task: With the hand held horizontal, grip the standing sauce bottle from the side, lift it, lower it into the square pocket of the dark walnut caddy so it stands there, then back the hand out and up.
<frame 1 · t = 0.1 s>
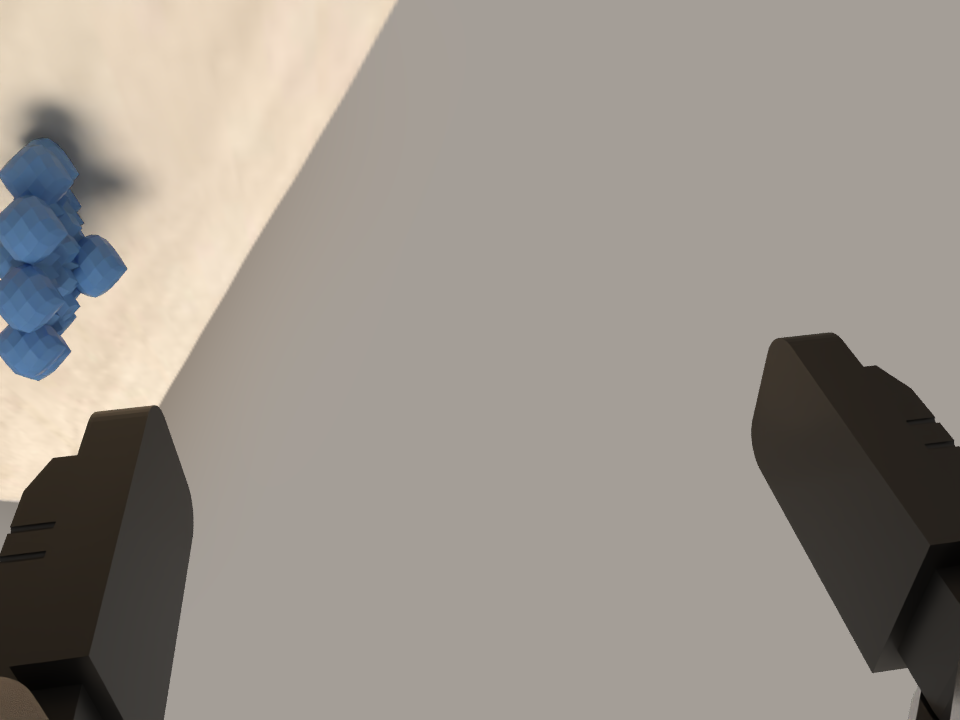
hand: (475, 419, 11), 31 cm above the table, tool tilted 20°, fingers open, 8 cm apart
grapes: (69, 177, 49), on the table
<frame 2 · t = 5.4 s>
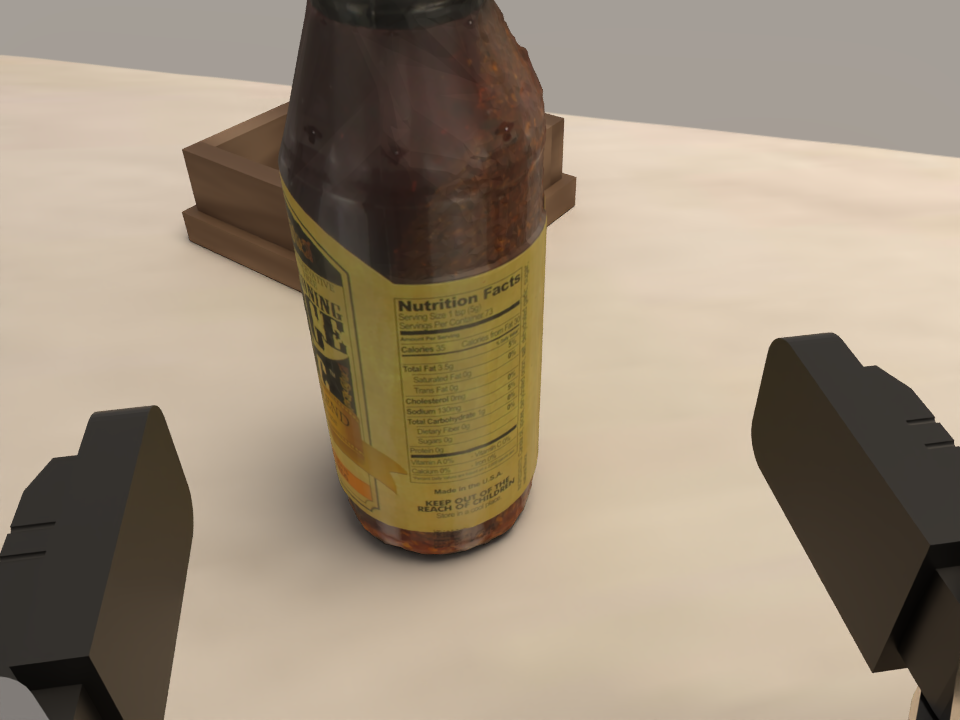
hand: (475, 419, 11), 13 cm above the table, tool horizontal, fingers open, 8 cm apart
walnut caddy: (386, 222, 41), on the table
sauce bottle: (440, 498, 28), on the table
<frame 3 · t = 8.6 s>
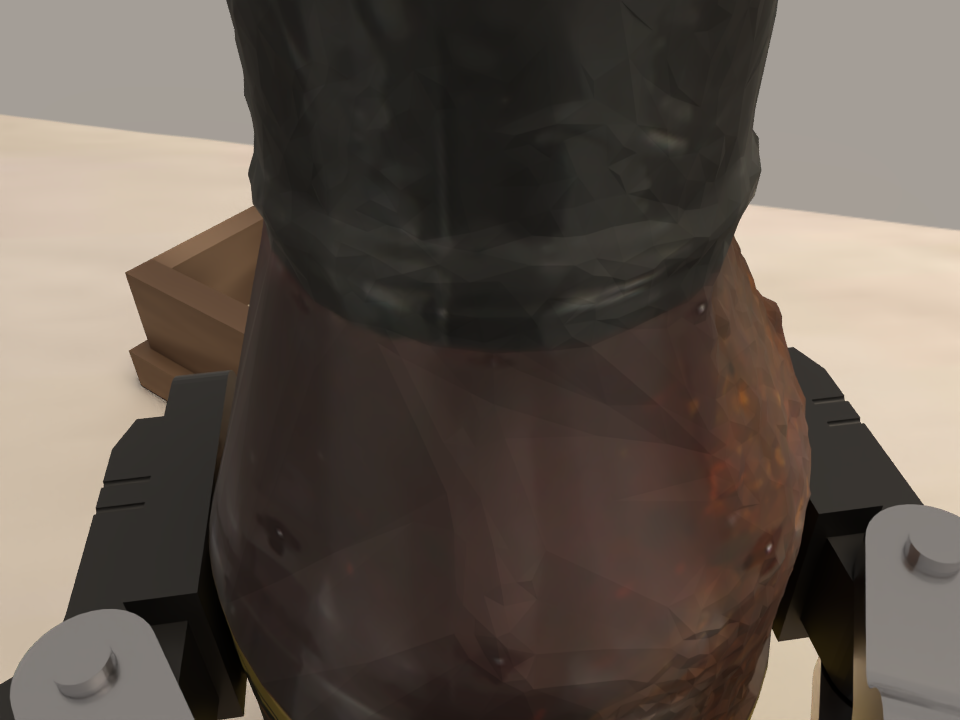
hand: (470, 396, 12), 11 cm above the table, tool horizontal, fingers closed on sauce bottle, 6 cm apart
walnut caddy: (406, 356, 31), on the table
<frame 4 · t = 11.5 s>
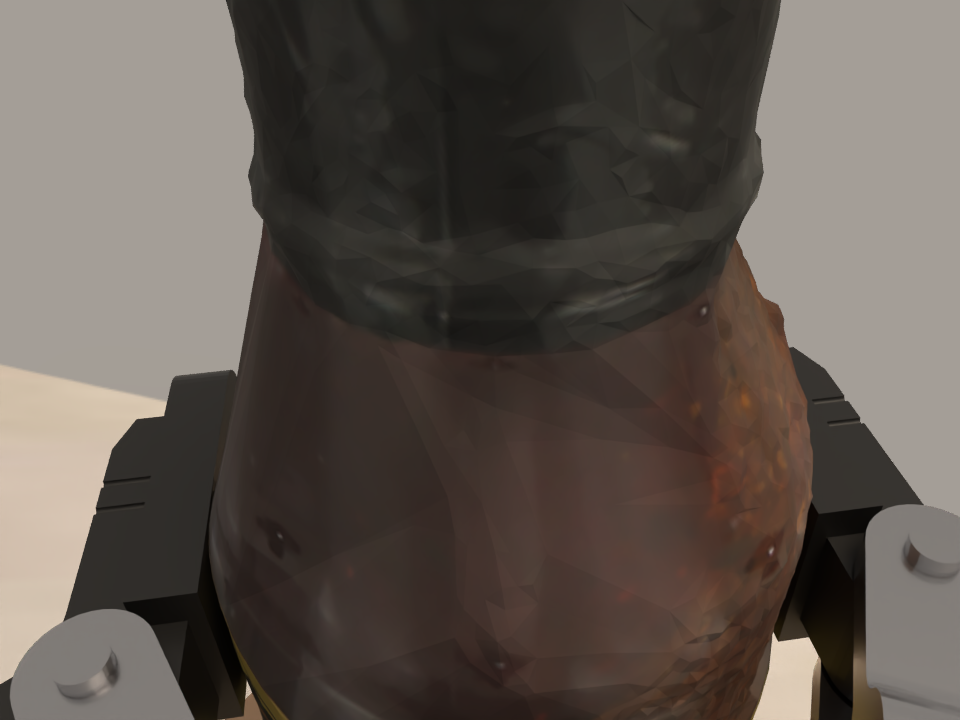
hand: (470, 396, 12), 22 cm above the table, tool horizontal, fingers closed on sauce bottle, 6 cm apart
when the fingers open (14 cm above the table, at t = 14.7 s): sauce bottle stays where it is, resting on walnut caddy.
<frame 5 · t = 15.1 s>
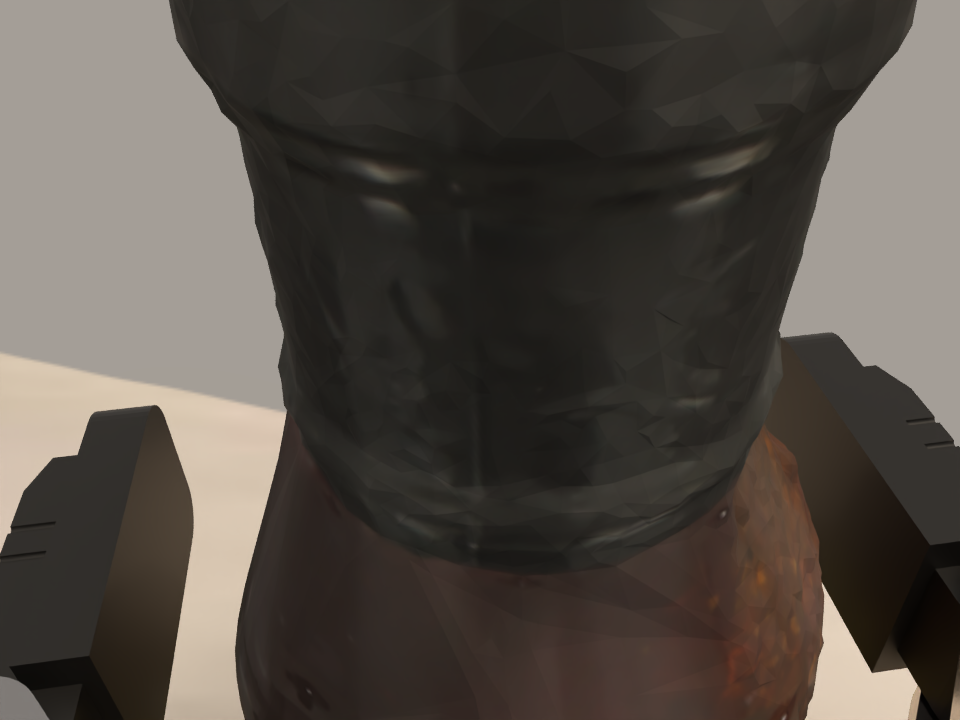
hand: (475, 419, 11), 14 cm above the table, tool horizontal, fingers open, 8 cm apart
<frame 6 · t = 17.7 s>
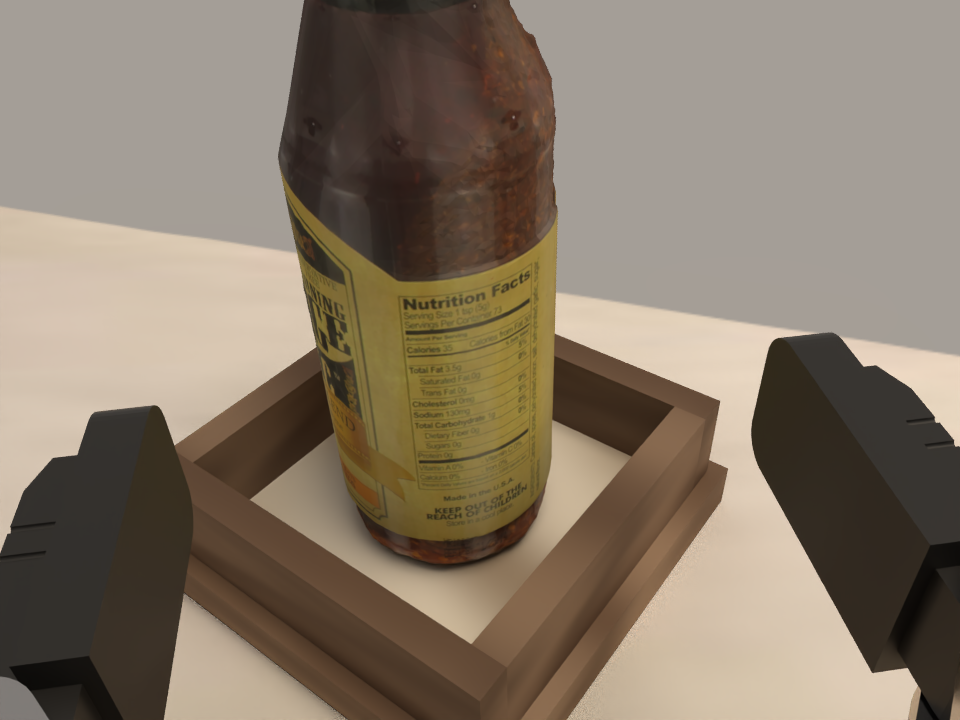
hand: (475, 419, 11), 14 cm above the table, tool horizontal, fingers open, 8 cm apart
walnut caddy: (447, 535, 28), on the table
sauce bottle: (451, 506, 27), point 2 cm above the table, touching walnut caddy
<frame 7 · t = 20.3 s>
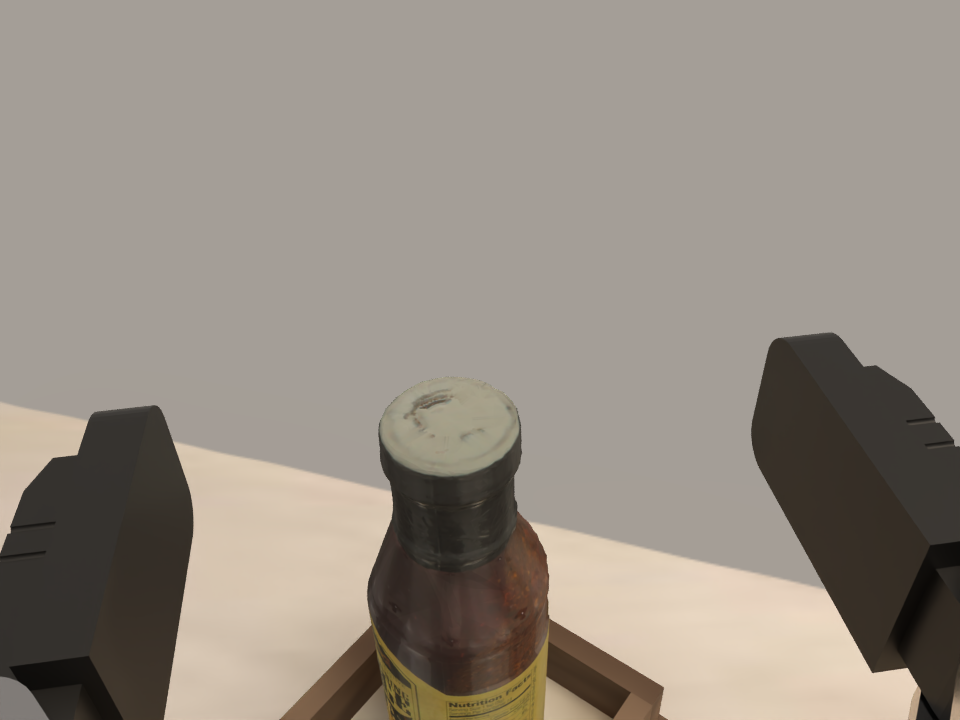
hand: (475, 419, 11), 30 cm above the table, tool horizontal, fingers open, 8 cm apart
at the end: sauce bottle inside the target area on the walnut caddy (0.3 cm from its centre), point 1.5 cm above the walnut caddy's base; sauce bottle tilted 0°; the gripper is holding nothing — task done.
